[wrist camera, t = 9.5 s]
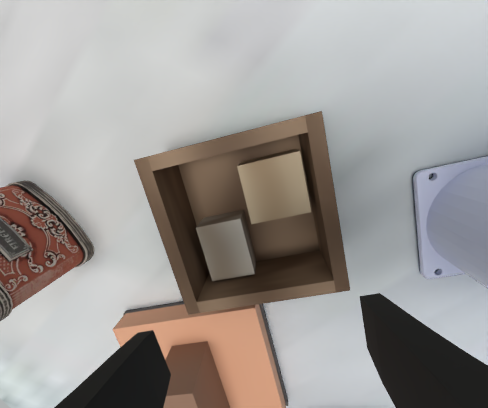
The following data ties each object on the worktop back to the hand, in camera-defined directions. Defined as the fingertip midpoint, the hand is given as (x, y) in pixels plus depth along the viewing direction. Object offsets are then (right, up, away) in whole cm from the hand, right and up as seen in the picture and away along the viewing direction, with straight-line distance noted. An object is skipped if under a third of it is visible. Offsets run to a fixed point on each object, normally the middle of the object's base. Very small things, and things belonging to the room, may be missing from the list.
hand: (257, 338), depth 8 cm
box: (0, +4, +10) cm, 11 cm away
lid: (-4, -9, +12) cm, 16 cm away
